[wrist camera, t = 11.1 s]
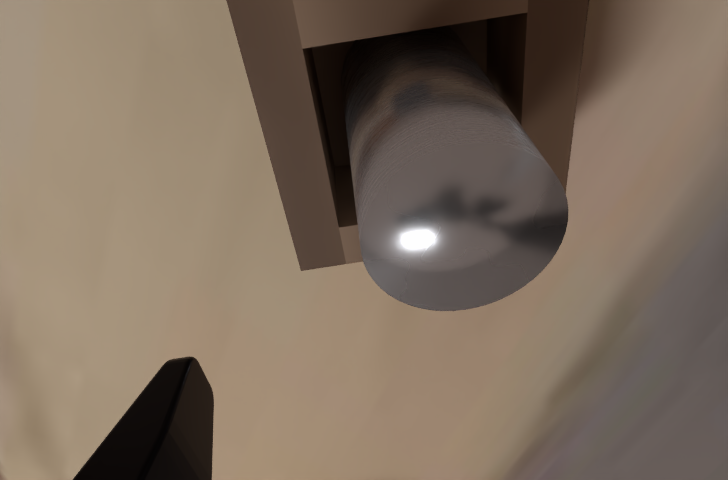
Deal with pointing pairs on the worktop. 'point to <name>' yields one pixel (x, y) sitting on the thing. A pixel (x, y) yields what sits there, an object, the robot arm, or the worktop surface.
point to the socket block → (325, 101)
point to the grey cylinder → (444, 175)
